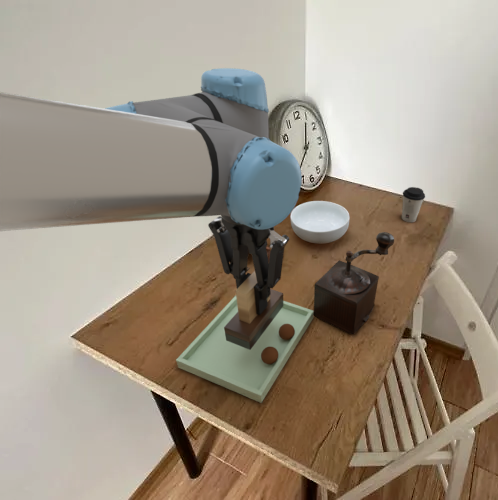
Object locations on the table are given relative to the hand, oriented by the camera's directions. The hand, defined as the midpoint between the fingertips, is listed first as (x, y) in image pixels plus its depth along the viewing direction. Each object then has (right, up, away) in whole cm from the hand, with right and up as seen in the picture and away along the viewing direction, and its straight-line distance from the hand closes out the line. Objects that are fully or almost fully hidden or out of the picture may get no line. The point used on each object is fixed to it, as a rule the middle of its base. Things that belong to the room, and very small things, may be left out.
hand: (255, 307), depth 64 cm
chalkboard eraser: (0, -3, +2) cm, 4 cm away
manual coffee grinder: (+18, -2, +17) cm, 25 cm away
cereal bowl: (+10, +14, +39) cm, 43 cm away
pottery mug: (-6, +9, +30) cm, 32 cm away
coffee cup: (+38, +20, +50) cm, 66 cm away
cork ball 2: (+5, -6, +6) cm, 10 cm away
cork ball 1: (+2, -9, +2) cm, 10 cm away
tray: (-2, -8, +7) cm, 11 cm away
